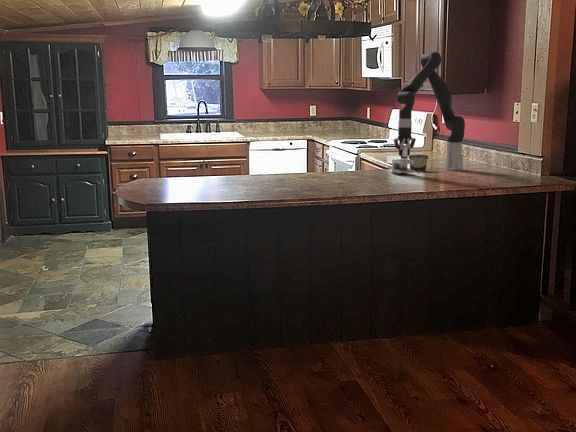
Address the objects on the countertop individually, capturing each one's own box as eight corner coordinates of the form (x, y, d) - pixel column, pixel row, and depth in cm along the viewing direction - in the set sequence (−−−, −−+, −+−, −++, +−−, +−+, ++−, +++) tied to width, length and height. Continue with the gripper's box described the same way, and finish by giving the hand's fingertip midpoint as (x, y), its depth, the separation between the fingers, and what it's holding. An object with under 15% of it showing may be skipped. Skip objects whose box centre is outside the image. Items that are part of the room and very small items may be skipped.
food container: (427, 170, 404) (427, 154, 402) (428, 171, 398) (428, 155, 396) (407, 170, 405) (407, 154, 403) (407, 171, 399) (408, 155, 397)
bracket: (403, 172, 392) (404, 158, 391) (414, 175, 380) (414, 160, 378) (390, 173, 389) (390, 159, 388) (400, 176, 377) (400, 161, 376)
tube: (405, 172, 385) (405, 145, 382) (408, 173, 381) (409, 146, 378) (398, 172, 384) (399, 145, 381) (402, 173, 380) (403, 146, 377)
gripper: (412, 125, 383) (411, 154, 386) (391, 126, 379) (390, 155, 382) (419, 126, 376) (418, 156, 379) (397, 127, 372) (396, 156, 375)
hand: (404, 155), depth 381 cm, fingers closed on tube, 4 cm apart
